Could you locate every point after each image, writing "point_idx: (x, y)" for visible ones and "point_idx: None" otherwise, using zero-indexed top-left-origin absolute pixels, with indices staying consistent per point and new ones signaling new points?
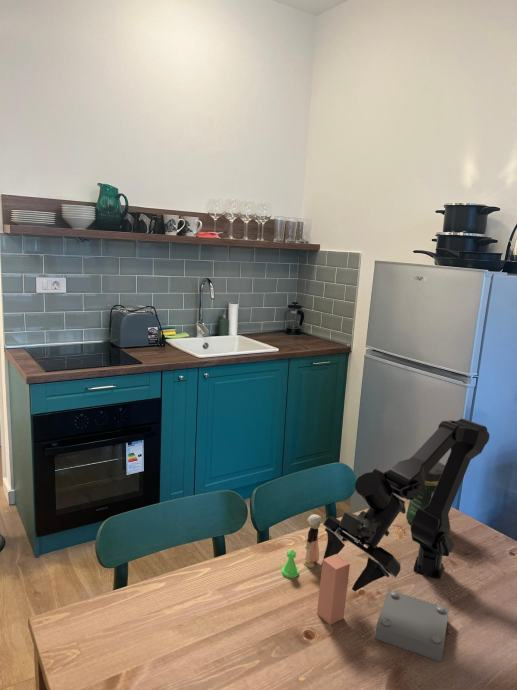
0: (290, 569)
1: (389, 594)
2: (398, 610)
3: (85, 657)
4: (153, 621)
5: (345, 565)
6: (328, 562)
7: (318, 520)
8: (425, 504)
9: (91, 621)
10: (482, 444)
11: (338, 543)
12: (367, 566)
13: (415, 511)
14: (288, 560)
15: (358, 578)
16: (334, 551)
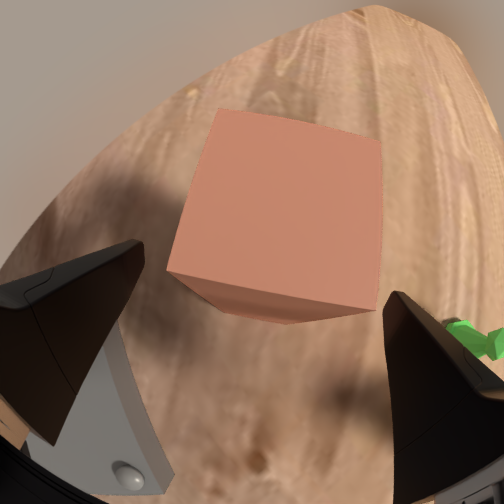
0: (462, 334)
1: (144, 474)
2: (82, 416)
3: (398, 21)
4: (429, 68)
5: (185, 208)
6: (323, 133)
7: None
8: None
9: (445, 50)
10: None
11: (439, 462)
12: (8, 304)
13: None
14: (485, 336)
15: (98, 264)
16: (418, 406)
